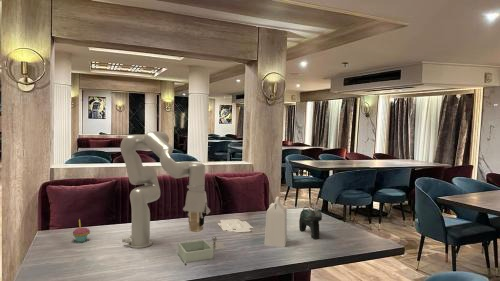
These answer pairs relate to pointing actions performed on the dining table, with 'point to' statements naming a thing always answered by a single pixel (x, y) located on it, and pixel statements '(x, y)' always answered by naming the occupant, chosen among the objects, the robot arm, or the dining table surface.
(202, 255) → the bin
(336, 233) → the dining table surface
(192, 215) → the strut
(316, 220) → the dark grey animal figurine
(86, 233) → the cupcake
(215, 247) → the stud plate
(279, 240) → the milk
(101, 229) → the dining table surface
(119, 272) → the dining table surface
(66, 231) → the dining table surface
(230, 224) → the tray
